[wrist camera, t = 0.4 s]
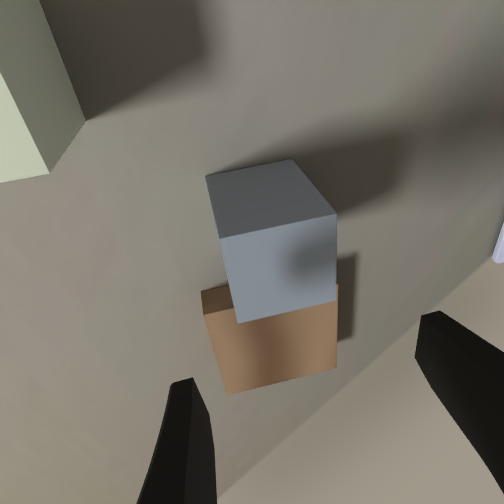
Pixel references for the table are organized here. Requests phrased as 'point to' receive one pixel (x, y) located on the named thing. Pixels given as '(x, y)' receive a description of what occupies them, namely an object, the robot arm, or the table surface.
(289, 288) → the slate block
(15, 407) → the table surface
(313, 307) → the walnut block
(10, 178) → the sage block
